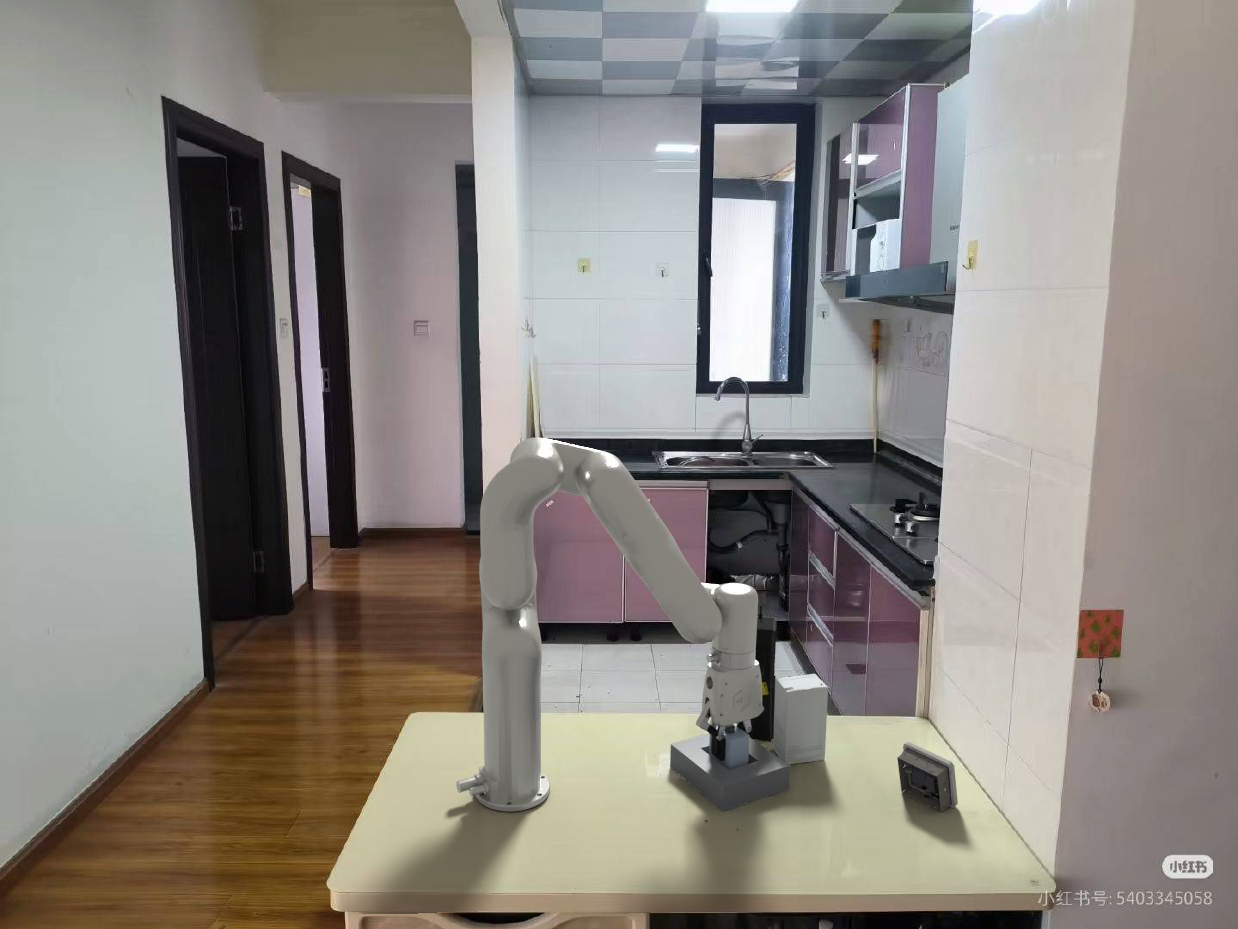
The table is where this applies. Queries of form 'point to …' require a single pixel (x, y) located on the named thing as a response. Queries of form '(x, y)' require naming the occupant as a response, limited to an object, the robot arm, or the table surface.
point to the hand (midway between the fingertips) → (728, 753)
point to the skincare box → (800, 718)
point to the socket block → (729, 773)
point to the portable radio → (765, 677)
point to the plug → (734, 747)
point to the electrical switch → (927, 777)
